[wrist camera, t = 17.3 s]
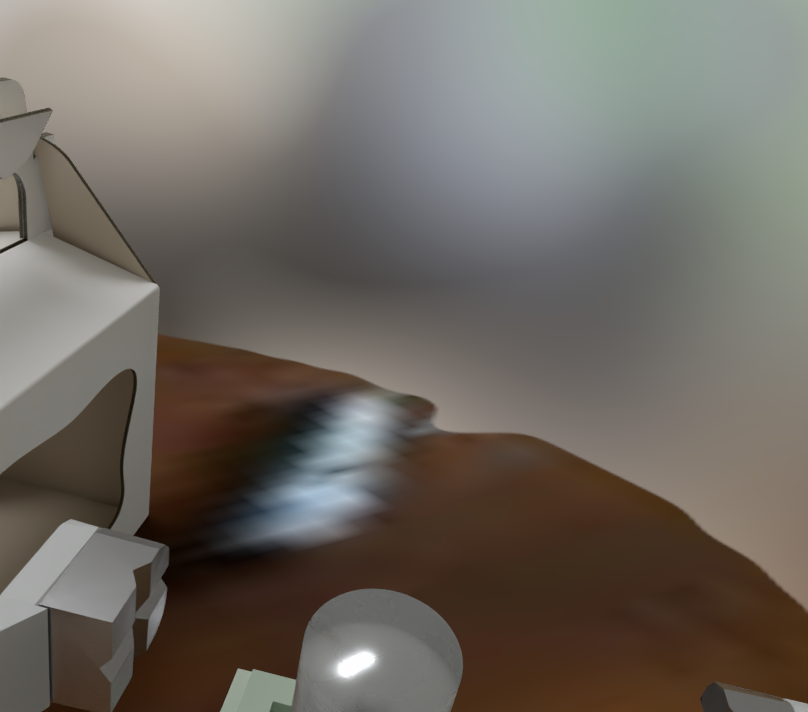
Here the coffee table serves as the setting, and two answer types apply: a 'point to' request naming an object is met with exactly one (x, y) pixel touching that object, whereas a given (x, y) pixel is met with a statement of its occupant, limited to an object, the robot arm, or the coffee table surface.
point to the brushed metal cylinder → (377, 656)
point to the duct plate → (259, 693)
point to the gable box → (67, 349)
